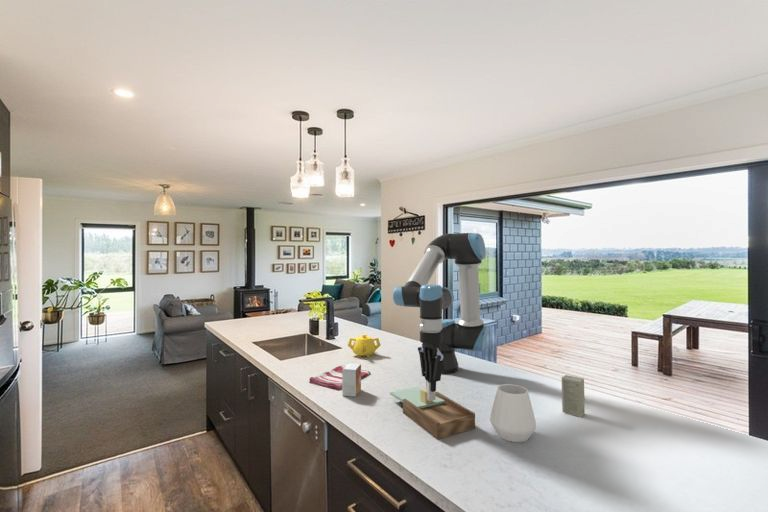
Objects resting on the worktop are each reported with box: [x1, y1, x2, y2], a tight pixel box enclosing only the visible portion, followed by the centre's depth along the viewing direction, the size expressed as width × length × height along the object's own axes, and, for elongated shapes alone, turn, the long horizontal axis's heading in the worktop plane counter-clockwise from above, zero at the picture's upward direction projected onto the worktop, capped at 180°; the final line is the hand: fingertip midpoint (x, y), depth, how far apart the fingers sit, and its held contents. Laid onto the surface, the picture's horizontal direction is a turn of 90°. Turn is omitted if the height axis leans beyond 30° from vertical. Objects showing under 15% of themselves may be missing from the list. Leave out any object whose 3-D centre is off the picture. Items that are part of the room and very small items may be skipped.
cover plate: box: [389, 386, 445, 409], centre depth 130 cm, size 12×18×5 cm
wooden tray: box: [402, 391, 476, 440], centre depth 119 cm, size 15×20×5 cm
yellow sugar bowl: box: [347, 333, 381, 358], centre depth 196 cm, size 20×18×11 cm
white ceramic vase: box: [489, 383, 537, 443], centre depth 110 cm, size 13×13×14 cm
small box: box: [341, 362, 362, 398], centre depth 143 cm, size 8×6×10 cm
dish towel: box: [308, 365, 372, 391], centre depth 160 cm, size 17×23×3 cm
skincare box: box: [561, 374, 586, 418], centre depth 125 cm, size 6×4×12 cm
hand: (431, 399), depth 123 cm, fingers closed
